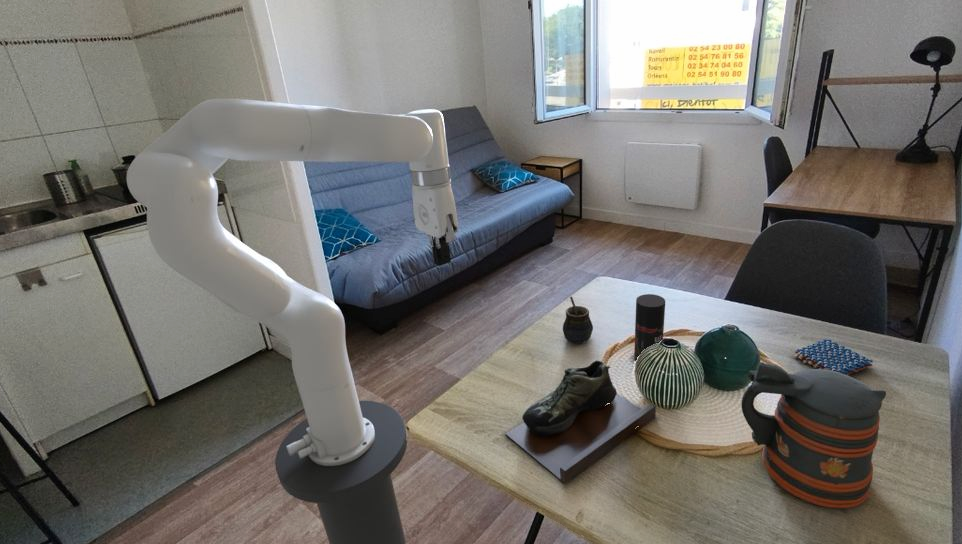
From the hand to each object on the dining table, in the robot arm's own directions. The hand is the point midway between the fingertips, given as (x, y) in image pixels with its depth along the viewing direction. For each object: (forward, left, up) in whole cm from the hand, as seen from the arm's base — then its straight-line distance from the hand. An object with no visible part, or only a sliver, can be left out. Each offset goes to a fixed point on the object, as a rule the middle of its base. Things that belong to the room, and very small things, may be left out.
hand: (442, 263), depth 105 cm
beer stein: (+25, -63, -27) cm, 73 cm away
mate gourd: (+29, -10, -27) cm, 41 cm away
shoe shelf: (+7, -32, -27) cm, 43 cm away
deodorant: (+34, -27, -27) cm, 51 cm away
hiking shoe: (+8, -28, -27) cm, 40 cm away
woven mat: (+60, -54, -27) cm, 85 cm away
